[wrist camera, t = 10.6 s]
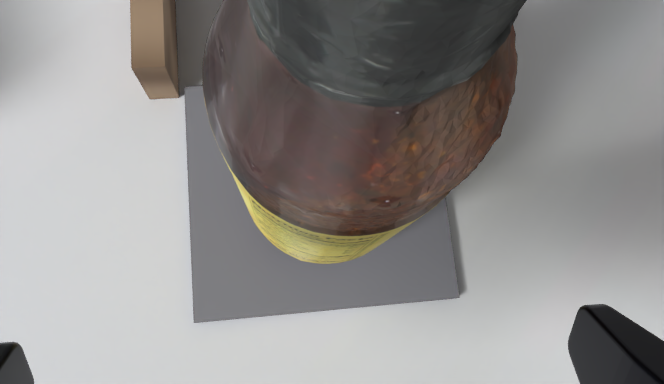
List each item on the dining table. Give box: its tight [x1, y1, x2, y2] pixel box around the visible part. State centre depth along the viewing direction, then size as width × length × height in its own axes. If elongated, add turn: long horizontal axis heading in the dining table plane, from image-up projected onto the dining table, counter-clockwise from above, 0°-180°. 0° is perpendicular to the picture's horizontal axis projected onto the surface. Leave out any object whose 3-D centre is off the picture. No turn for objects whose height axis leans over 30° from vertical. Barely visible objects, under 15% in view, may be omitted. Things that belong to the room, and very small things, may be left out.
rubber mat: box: [184, 86, 459, 323], centre depth 24 cm, size 10×10×1 cm
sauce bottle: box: [203, 0, 526, 264], centre depth 14 cm, size 6×6×20 cm
